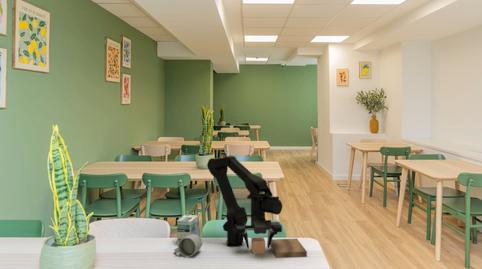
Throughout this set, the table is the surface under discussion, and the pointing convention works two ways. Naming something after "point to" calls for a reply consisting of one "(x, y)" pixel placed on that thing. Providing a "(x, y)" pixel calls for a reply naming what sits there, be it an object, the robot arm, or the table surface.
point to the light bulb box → (187, 226)
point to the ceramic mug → (189, 245)
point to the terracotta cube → (258, 245)
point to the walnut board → (287, 248)
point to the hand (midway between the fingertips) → (258, 248)
